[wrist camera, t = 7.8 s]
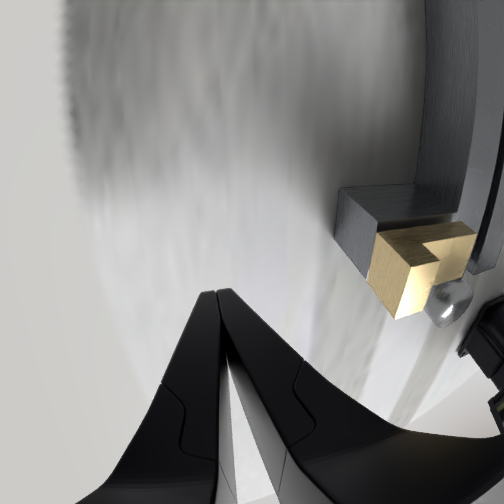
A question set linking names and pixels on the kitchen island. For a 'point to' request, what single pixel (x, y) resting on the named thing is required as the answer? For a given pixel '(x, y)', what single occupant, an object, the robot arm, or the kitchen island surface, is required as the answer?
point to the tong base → (441, 134)
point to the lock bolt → (417, 263)
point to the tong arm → (474, 253)
